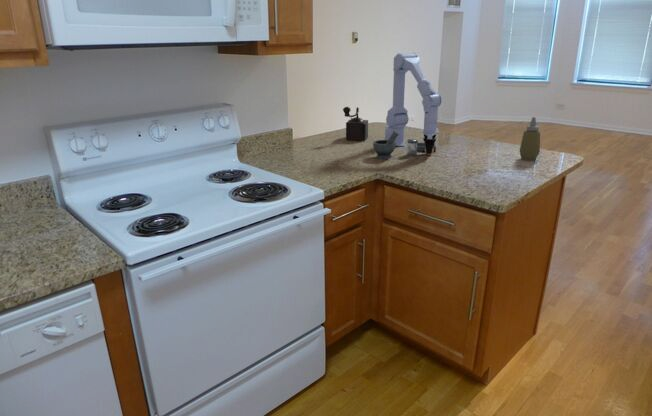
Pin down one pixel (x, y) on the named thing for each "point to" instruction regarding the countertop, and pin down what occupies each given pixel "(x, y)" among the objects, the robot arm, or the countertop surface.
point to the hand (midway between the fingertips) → (429, 151)
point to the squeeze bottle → (530, 142)
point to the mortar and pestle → (385, 146)
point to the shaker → (412, 147)
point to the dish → (422, 147)
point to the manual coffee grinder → (355, 127)
